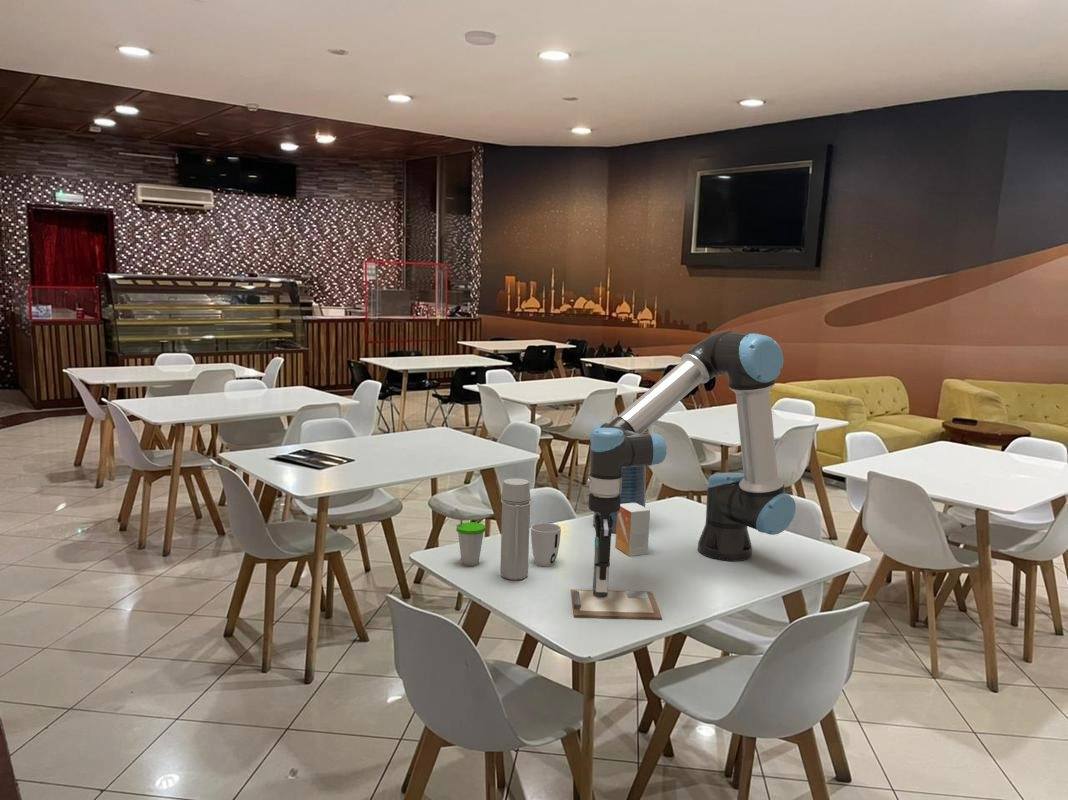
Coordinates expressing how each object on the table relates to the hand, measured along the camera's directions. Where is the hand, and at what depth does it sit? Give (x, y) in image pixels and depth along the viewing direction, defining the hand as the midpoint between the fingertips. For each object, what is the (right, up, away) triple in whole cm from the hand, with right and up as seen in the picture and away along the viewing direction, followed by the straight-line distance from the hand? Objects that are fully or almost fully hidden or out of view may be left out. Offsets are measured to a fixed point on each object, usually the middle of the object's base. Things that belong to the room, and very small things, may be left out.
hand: (600, 587), depth 186 cm
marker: (0, -2, 0) cm, 2 cm away
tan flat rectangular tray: (+3, -3, -4) cm, 6 cm away
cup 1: (-33, +1, +21) cm, 39 cm away
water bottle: (-21, 0, +12) cm, 24 cm away
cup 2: (-13, +1, +23) cm, 27 cm away
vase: (+11, +5, +58) cm, 59 cm away
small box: (+12, +2, +35) cm, 37 cm away
